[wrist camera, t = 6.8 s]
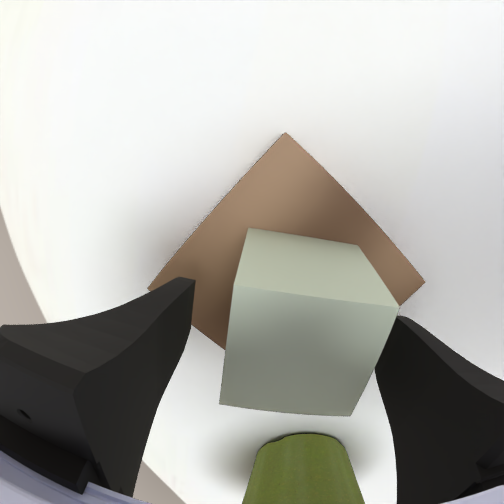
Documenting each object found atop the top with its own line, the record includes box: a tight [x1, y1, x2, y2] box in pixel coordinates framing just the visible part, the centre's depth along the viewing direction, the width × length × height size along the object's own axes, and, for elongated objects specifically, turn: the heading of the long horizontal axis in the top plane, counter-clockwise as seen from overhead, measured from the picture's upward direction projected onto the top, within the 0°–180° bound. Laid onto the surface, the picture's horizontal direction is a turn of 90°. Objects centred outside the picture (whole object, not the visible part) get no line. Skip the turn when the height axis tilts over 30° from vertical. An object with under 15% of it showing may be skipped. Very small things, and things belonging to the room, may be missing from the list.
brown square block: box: [147, 133, 425, 350], centre depth 15 cm, size 9×9×3 cm
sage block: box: [219, 228, 400, 416], centre depth 11 cm, size 4×4×5 cm
